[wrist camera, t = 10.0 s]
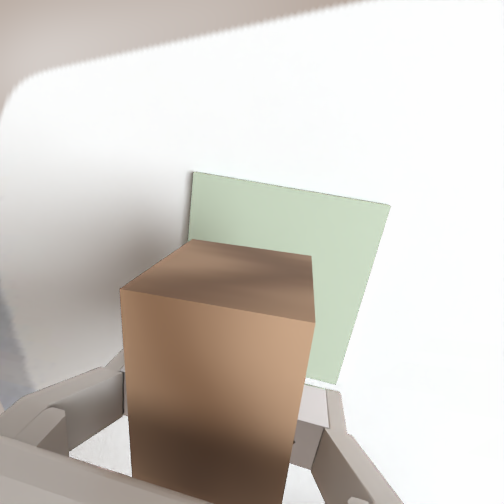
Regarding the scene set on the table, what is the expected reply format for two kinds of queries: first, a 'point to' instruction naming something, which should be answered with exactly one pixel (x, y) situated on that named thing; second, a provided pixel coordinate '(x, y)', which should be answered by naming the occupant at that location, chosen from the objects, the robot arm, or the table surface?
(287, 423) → the box
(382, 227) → the rubber mat
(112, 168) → the table surface
